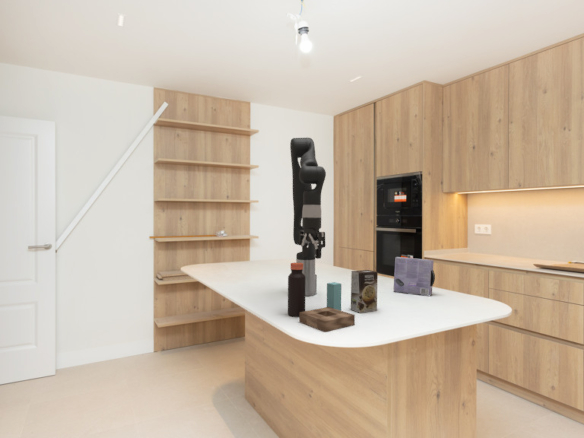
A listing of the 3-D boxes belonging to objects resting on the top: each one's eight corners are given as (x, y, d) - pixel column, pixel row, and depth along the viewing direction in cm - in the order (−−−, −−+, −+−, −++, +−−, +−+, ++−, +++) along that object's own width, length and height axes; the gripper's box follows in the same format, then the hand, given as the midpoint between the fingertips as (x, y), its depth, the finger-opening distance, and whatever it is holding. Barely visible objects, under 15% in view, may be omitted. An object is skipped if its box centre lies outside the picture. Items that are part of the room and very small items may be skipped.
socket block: (328, 315, 144) (328, 306, 144) (354, 324, 133) (354, 314, 133) (299, 321, 136) (299, 312, 136) (325, 331, 125) (325, 321, 125)
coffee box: (359, 313, 148) (360, 272, 148) (350, 309, 154) (350, 270, 154) (377, 310, 153) (378, 271, 152) (367, 307, 158) (368, 269, 158)
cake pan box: (434, 295, 184) (435, 259, 184) (432, 296, 180) (433, 260, 179) (396, 290, 194) (396, 256, 194) (393, 292, 190) (393, 257, 190)
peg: (334, 311, 150) (334, 282, 150) (341, 314, 147) (341, 283, 147) (326, 313, 148) (326, 283, 148) (333, 315, 145) (333, 284, 145)
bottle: (299, 318, 141) (299, 265, 141) (284, 315, 145) (284, 263, 144) (308, 314, 147) (308, 263, 147) (293, 311, 150) (294, 261, 150)
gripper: (330, 216, 145) (330, 258, 145) (308, 216, 156) (308, 255, 156) (315, 216, 140) (315, 259, 140) (293, 216, 152) (293, 256, 152)
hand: (311, 257), depth 148 cm, fingers open, 8 cm apart
